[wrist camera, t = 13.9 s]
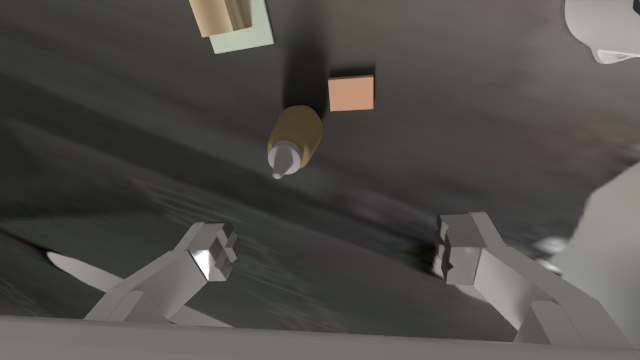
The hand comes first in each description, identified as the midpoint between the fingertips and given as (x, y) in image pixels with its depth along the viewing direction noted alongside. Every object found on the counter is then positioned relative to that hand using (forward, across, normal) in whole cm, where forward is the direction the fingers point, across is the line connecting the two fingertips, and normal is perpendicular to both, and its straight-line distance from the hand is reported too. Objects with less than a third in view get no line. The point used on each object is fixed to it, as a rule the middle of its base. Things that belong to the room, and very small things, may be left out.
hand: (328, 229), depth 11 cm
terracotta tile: (+38, +1, +5) cm, 38 cm away
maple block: (+36, +17, -9) cm, 41 cm away
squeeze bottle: (+37, +10, +9) cm, 40 cm away
